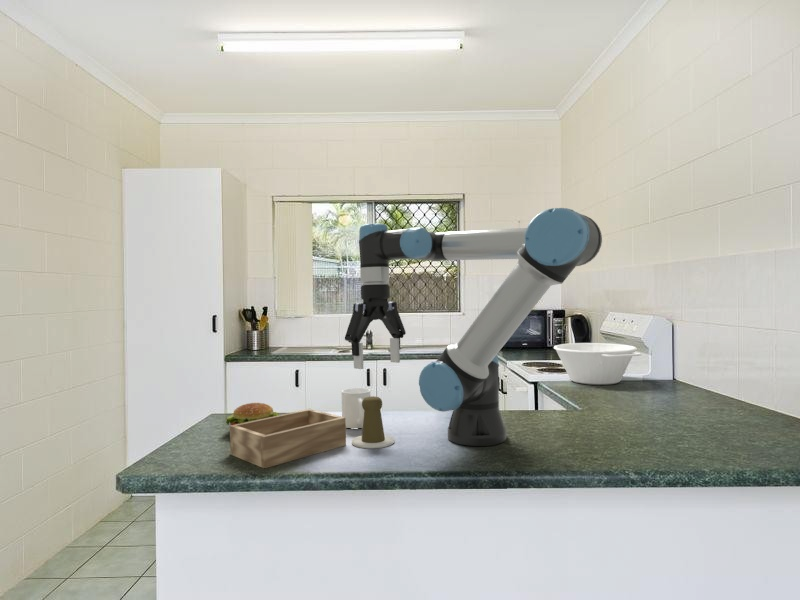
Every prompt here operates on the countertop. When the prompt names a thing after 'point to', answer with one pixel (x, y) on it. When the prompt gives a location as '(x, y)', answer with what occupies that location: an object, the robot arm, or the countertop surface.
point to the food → (250, 413)
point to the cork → (372, 420)
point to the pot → (595, 361)
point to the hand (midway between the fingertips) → (377, 365)
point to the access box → (287, 437)
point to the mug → (354, 406)
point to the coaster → (387, 442)
